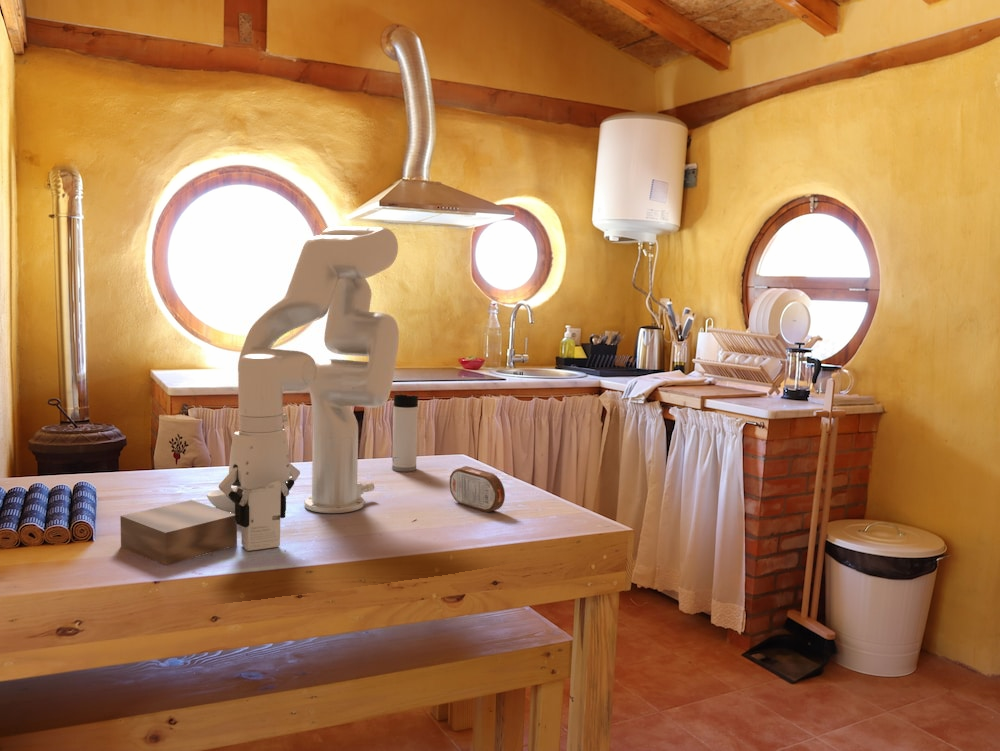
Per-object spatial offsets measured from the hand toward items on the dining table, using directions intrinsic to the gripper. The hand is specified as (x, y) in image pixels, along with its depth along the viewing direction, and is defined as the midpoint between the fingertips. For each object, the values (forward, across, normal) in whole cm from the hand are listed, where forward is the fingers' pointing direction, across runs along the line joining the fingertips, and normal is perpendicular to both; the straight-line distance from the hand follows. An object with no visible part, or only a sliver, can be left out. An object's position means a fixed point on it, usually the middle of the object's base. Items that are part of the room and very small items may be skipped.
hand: (261, 520), depth 144 cm
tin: (+6, -48, +9) cm, 49 cm away
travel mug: (+6, -60, -27) cm, 66 cm away
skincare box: (+5, 0, 0) cm, 5 cm away
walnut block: (+5, +10, -10) cm, 15 cm away
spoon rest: (+6, -8, -18) cm, 21 cm away
